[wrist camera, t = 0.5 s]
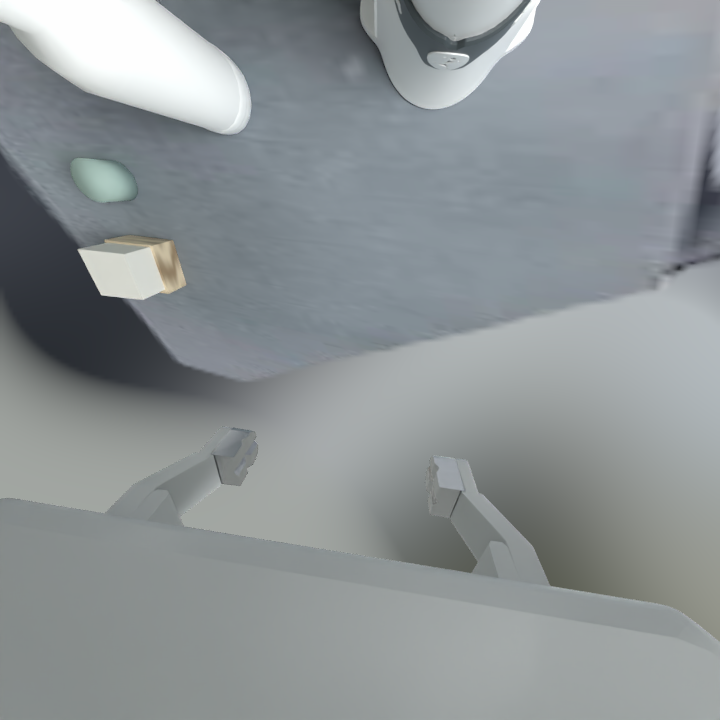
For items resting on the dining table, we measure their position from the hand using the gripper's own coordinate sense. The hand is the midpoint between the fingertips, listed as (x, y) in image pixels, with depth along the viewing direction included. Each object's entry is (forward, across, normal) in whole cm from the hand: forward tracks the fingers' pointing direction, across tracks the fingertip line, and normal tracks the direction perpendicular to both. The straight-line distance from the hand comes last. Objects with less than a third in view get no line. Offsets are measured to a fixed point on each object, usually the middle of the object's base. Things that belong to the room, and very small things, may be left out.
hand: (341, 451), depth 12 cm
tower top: (+33, +41, 0) cm, 52 cm away
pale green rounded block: (+37, +42, -12) cm, 57 cm away
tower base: (+38, +41, 0) cm, 56 cm away
